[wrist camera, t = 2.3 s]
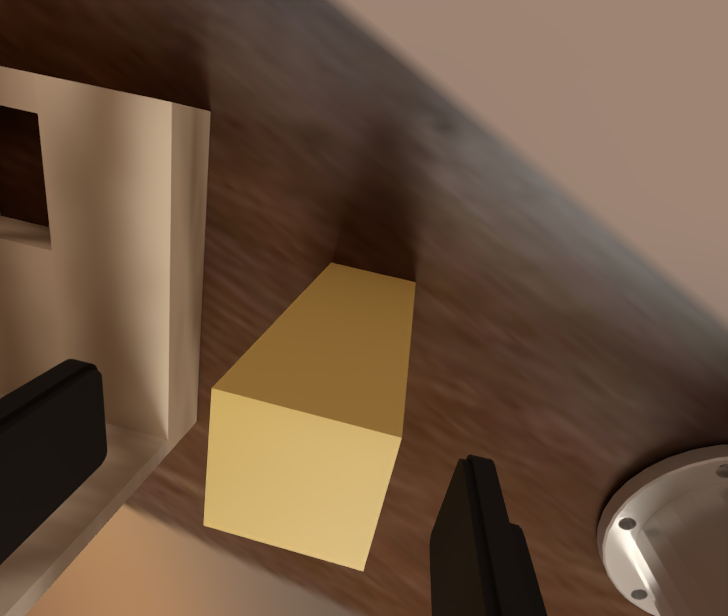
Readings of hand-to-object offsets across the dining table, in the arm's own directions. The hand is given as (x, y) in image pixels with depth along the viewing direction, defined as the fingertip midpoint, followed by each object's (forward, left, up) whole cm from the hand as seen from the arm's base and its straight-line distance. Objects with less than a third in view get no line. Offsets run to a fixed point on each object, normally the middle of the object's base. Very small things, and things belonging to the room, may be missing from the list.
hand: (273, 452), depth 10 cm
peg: (-1, 0, -11) cm, 11 cm away
